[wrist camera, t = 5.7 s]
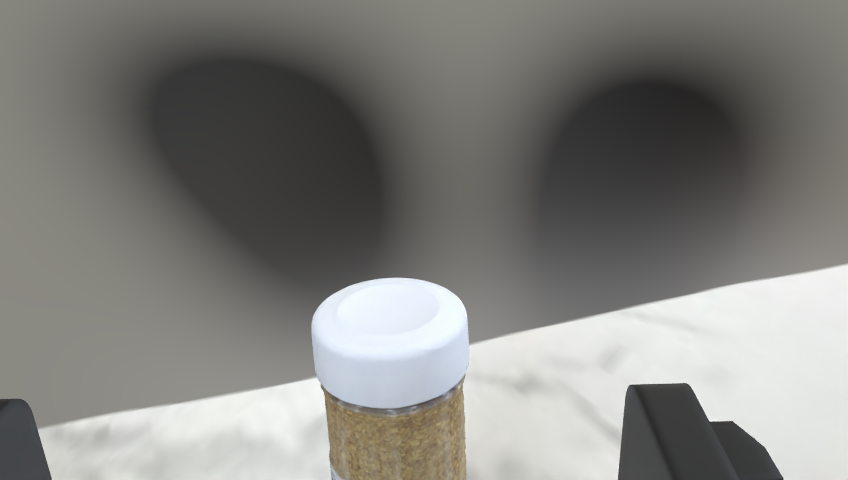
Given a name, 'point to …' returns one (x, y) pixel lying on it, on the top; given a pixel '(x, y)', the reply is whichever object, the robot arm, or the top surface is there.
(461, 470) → the brown spice jar
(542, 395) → the top surface
